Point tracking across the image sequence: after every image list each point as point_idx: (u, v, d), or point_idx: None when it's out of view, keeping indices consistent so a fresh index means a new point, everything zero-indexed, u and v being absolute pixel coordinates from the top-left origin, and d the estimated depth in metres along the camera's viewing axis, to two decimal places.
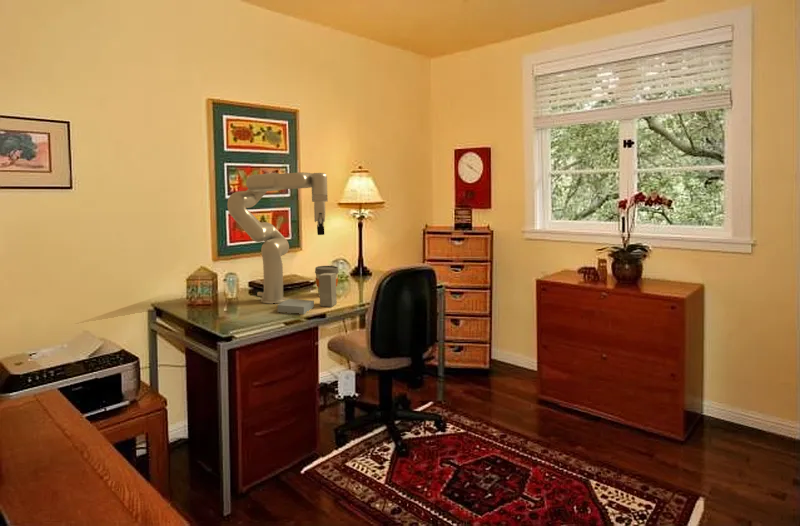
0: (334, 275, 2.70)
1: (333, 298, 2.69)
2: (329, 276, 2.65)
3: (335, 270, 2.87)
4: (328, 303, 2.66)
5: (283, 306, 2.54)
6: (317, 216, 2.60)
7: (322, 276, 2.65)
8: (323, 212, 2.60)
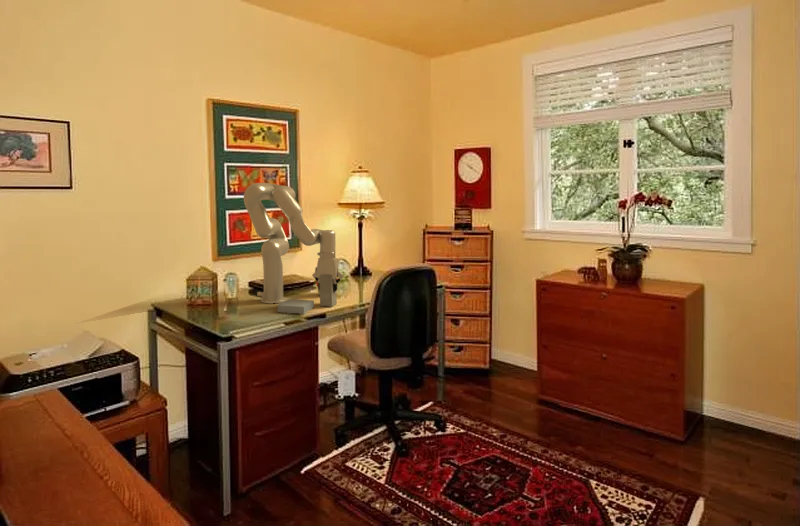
0: None
1: (334, 298, 2.69)
2: (329, 276, 2.65)
3: None
4: (328, 303, 2.66)
5: (283, 306, 2.54)
6: (336, 274, 2.66)
7: (322, 276, 2.65)
8: None
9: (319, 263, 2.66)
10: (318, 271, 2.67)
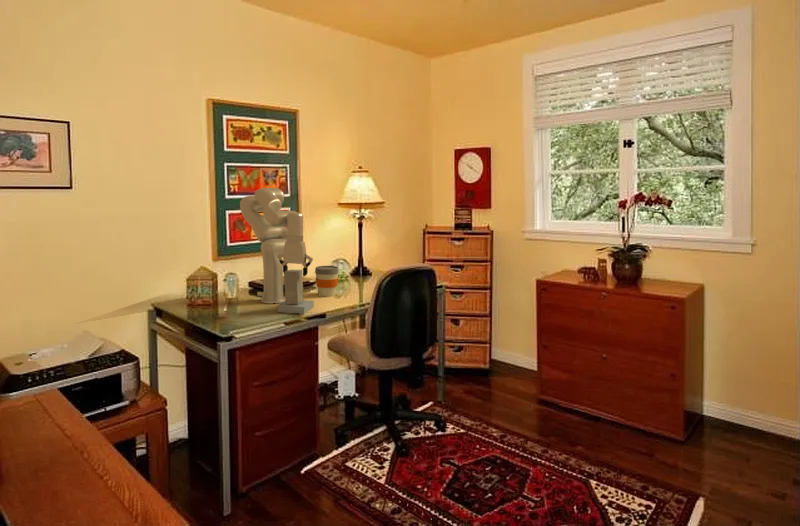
0: (300, 272, 2.58)
1: (300, 295, 2.58)
2: (295, 273, 2.53)
3: (335, 270, 2.87)
4: (294, 301, 2.55)
5: (283, 307, 2.54)
6: (304, 257, 2.53)
7: (287, 273, 2.54)
8: None
9: (286, 247, 2.53)
10: (285, 255, 2.54)
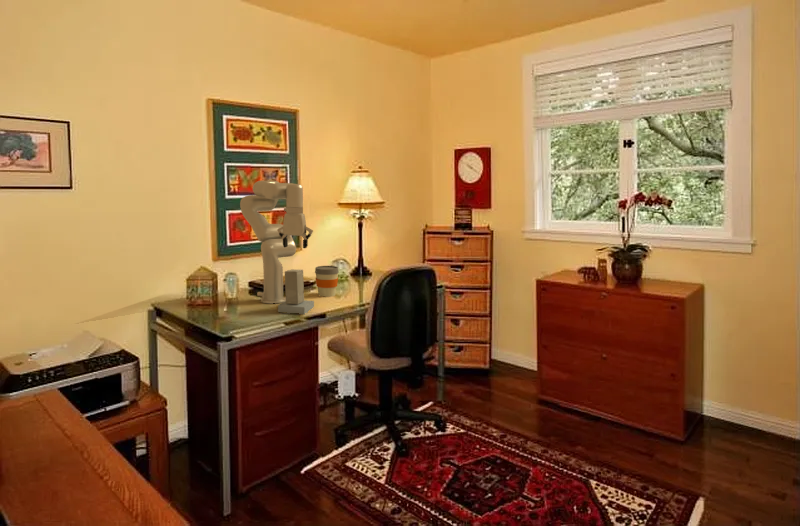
0: (301, 271, 2.59)
1: (300, 295, 2.58)
2: (295, 272, 2.53)
3: (335, 270, 2.87)
4: (294, 301, 2.55)
5: (283, 307, 2.54)
6: (304, 229, 2.51)
7: (288, 272, 2.54)
8: (305, 224, 2.54)
9: (285, 219, 2.51)
10: (284, 227, 2.52)
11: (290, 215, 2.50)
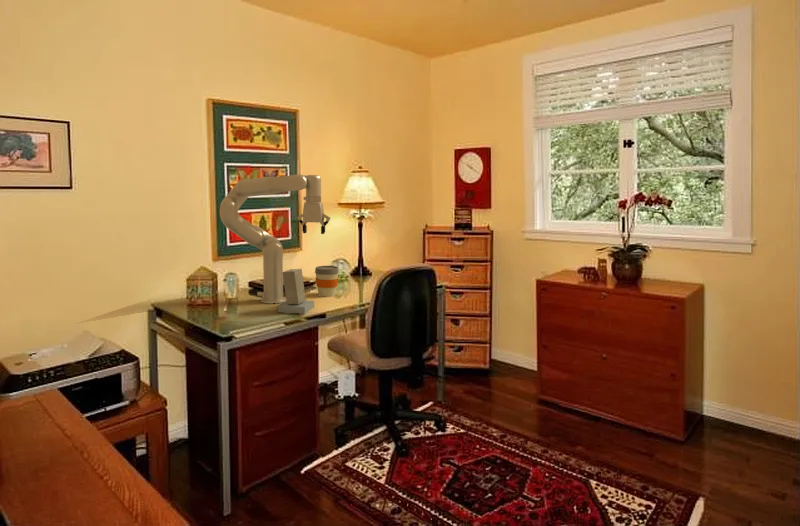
0: (299, 271, 2.57)
1: (300, 294, 2.57)
2: (293, 272, 2.52)
3: (335, 270, 2.87)
4: (295, 301, 2.54)
5: (283, 307, 2.54)
6: (322, 216, 2.74)
7: (286, 273, 2.53)
8: (323, 212, 2.76)
9: (305, 207, 2.73)
10: (304, 215, 2.74)
11: (309, 203, 2.73)
